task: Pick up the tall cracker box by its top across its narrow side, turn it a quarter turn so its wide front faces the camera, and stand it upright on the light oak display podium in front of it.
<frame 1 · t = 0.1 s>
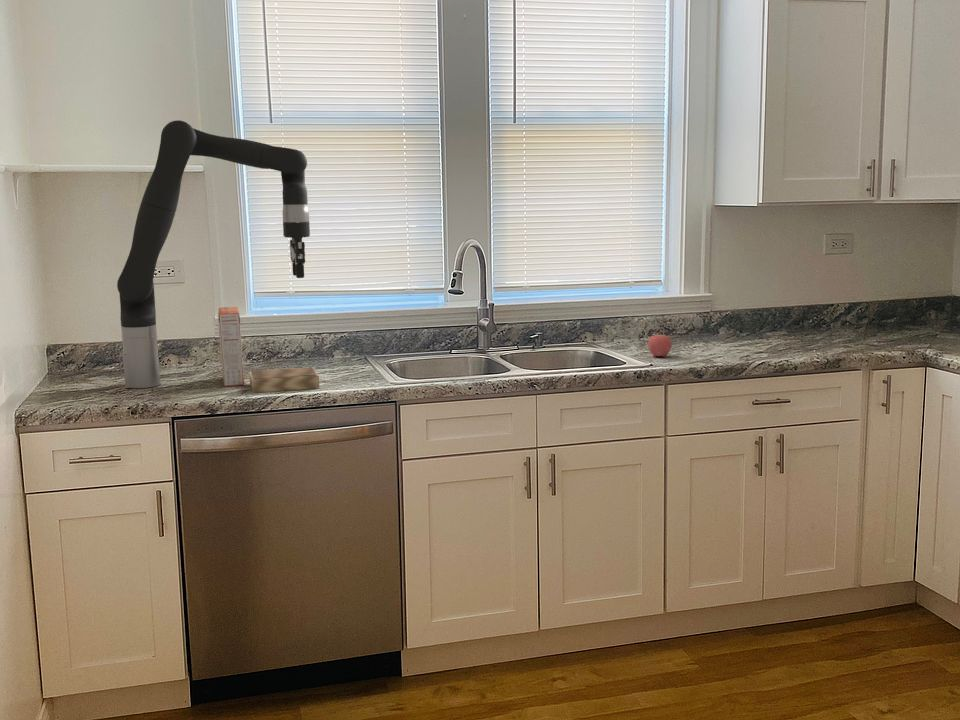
hand: (298, 276, 269), 29 cm above the worktop, fingers open, 8 cm apart
podium: (284, 385, 259), on the worktop
apple: (659, 357, 299), on the worktop
cracker box: (233, 382, 266), on the worktop
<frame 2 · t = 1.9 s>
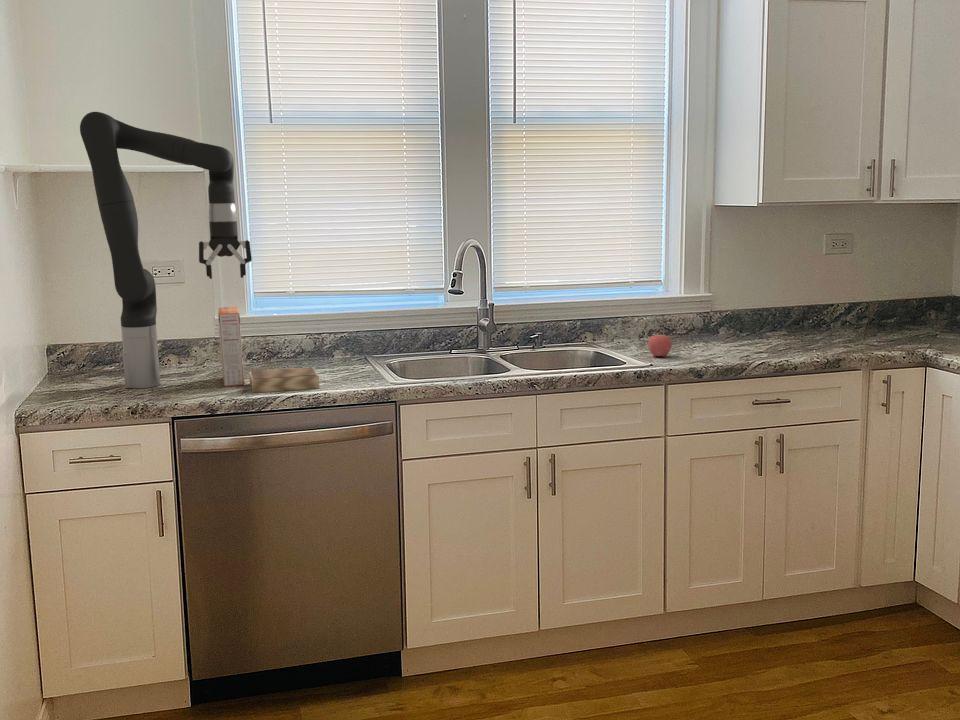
hand: (226, 278, 260), 30 cm above the worktop, fingers open, 8 cm apart
nothing on the worktop moved.
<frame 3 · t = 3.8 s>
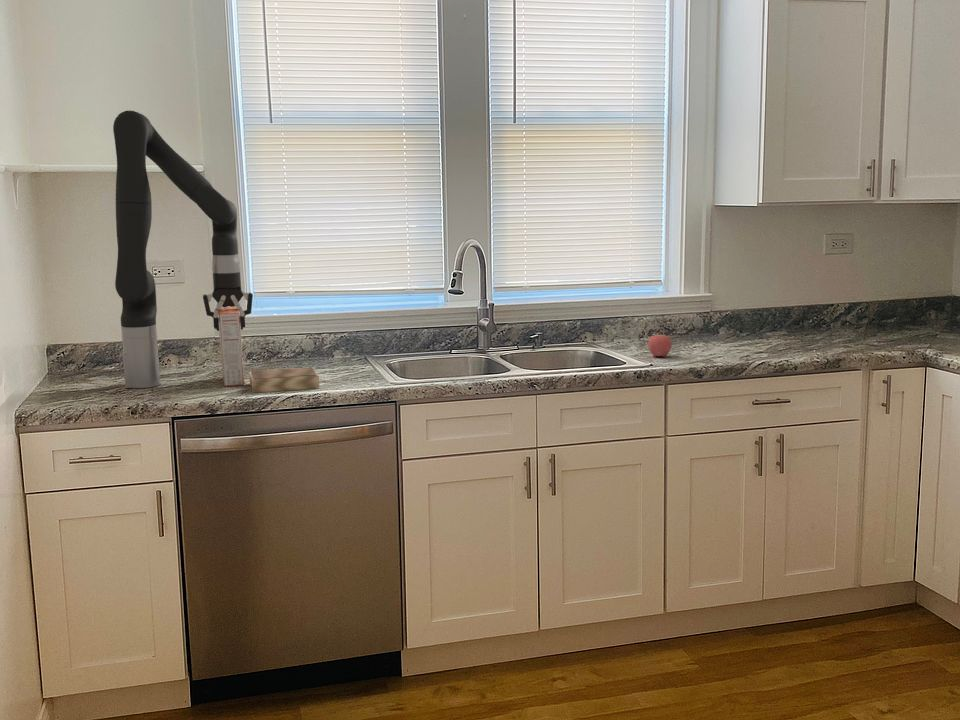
hand: (229, 329, 263), 15 cm above the worktop, fingers closed on cracker box, 6 cm apart
cracker box: (233, 382, 266), on the worktop, touching gripper
everything else where it was.
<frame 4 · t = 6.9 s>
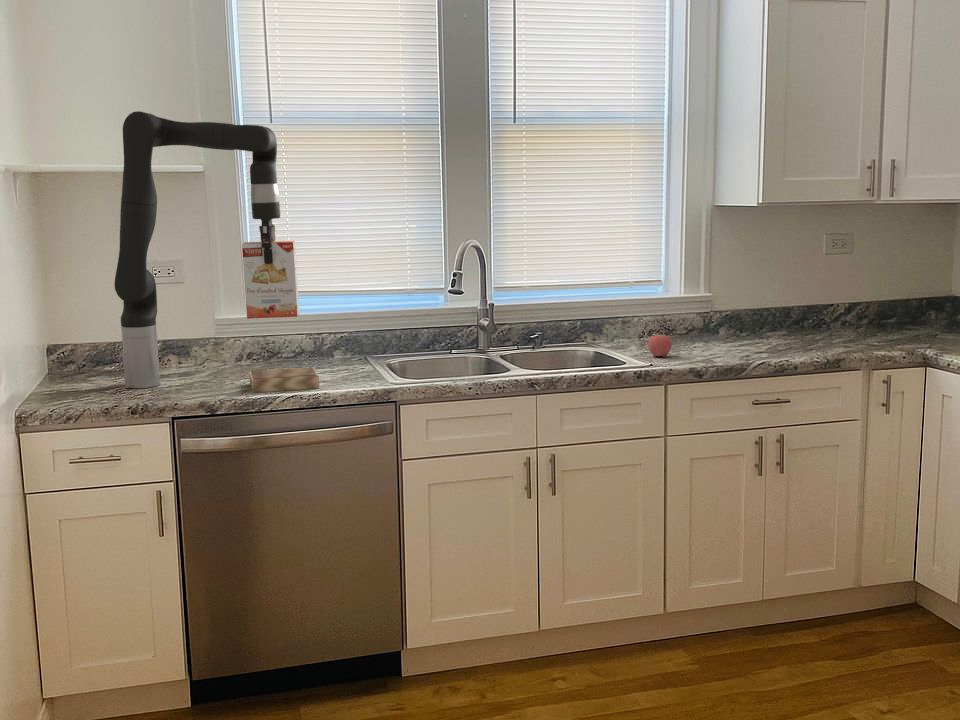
hand: (269, 262, 255), 34 cm above the worktop, fingers closed on cracker box, 6 cm apart
cracker box: (273, 317, 258), point 19 cm above the worktop, touching gripper
everything else where it was.
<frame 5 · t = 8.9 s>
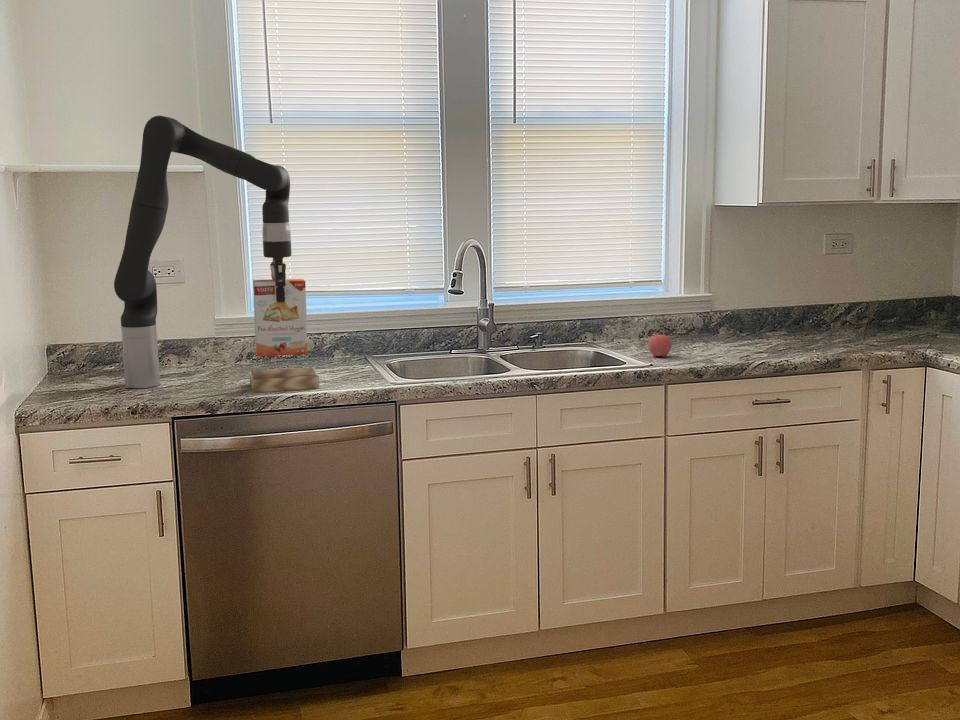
hand: (279, 300, 255), 24 cm above the worktop, fingers closed on cracker box, 6 cm apart
cracker box: (282, 354, 258), point 9 cm above the worktop, touching gripper
everything else where it was.
when the fingers open (20 cm above the worktop, at t = 10.2 s): cracker box drops 2 cm, resting on podium.
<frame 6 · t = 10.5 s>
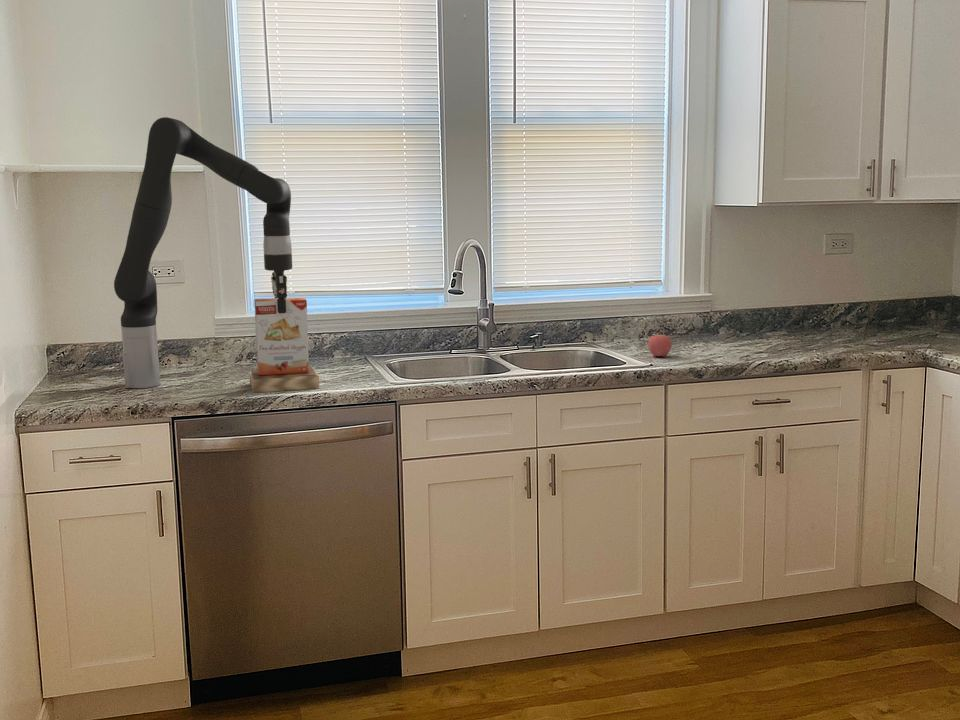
hand: (280, 311, 256), 21 cm above the worktop, fingers open, 8 cm apart
cracker box: (283, 373, 259), point 4 cm above the worktop, touching podium
everything else where it was.
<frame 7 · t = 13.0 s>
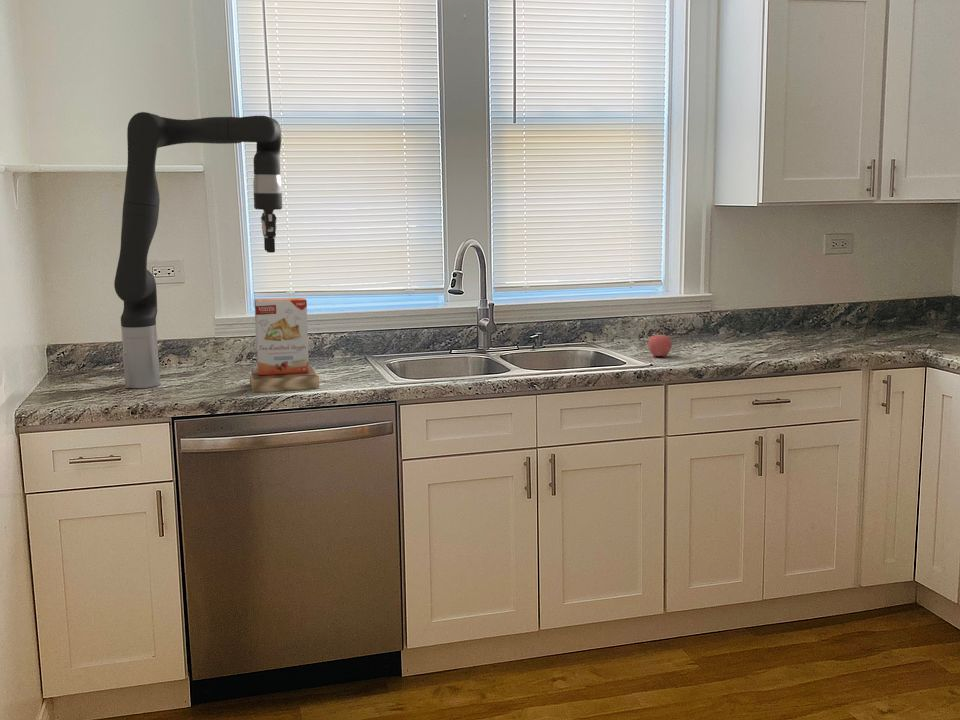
hand: (269, 251, 255), 37 cm above the worktop, fingers open, 8 cm apart
nothing on the worktop moved.
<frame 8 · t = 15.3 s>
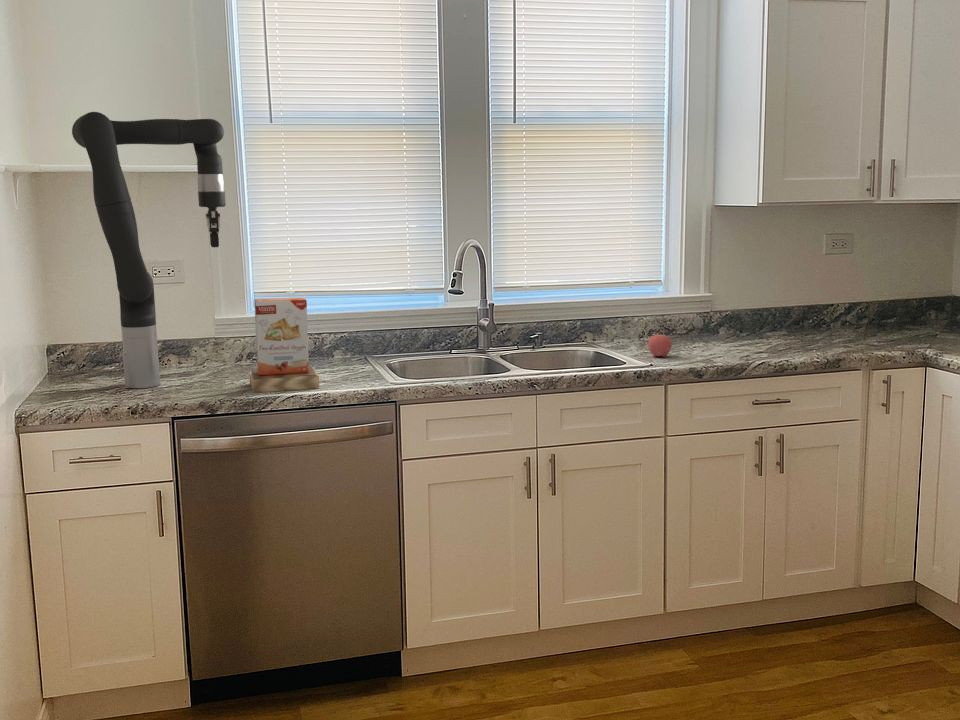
hand: (214, 246, 271), 38 cm above the worktop, fingers open, 8 cm apart
nothing on the worktop moved.
at the end: cracker box inside the target area on the podium (0.1 cm from its centre), point 3.5 cm above the podium's base; cracker box tilted 0°; the gripper is holding nothing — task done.
